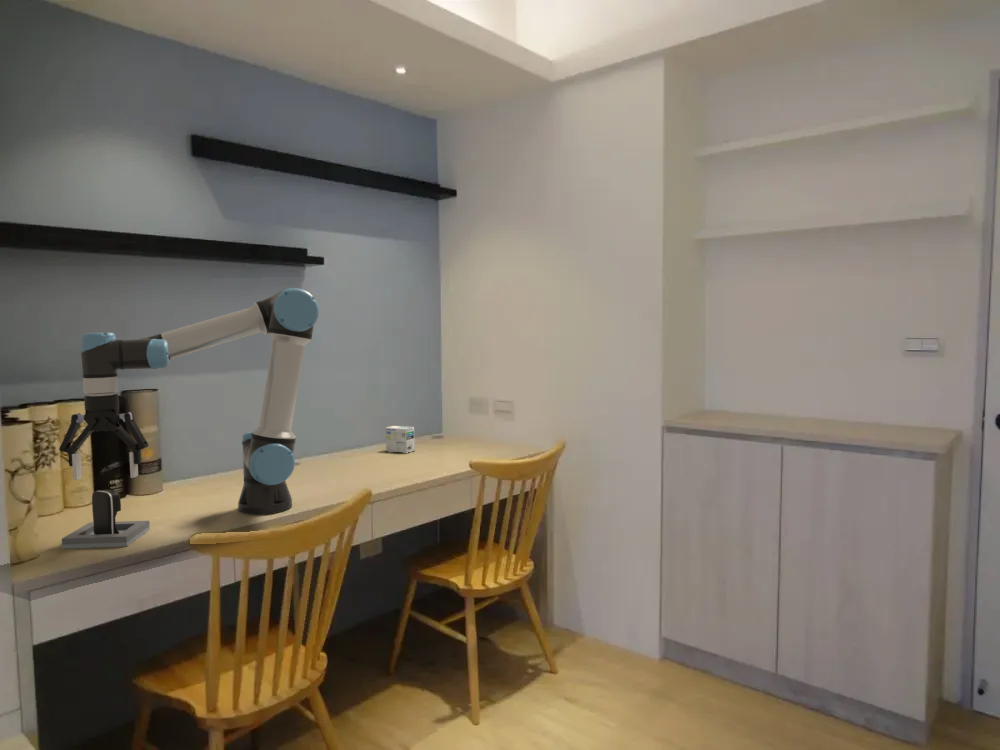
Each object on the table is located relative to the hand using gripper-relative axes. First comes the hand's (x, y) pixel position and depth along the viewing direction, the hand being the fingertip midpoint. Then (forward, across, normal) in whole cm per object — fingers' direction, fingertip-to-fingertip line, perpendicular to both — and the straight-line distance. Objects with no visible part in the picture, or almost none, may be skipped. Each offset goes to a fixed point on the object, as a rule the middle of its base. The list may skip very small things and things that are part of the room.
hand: (106, 477), depth 175 cm
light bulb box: (+17, -69, -115) cm, 135 cm away
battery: (+15, 0, 0) cm, 15 cm away
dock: (+16, 0, 0) cm, 16 cm away
